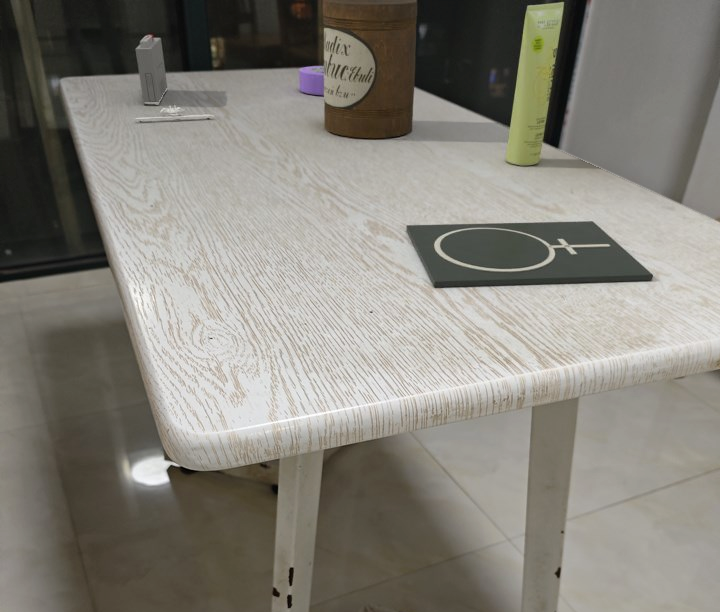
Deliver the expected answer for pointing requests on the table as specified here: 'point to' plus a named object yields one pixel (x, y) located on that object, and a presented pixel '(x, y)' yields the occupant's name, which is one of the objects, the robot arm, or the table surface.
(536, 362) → the table surface
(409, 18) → the wooden container
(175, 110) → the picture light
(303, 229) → the table surface
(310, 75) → the tape roll
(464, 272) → the chalkboard
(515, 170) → the table surface
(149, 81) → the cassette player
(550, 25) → the tube
